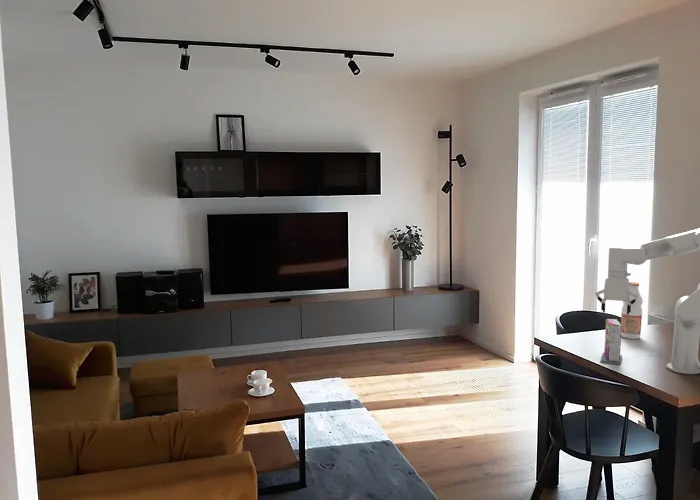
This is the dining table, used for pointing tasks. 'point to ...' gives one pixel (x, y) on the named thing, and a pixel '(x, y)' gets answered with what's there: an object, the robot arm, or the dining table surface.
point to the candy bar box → (612, 339)
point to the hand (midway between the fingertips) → (615, 313)
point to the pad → (605, 360)
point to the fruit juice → (632, 315)
